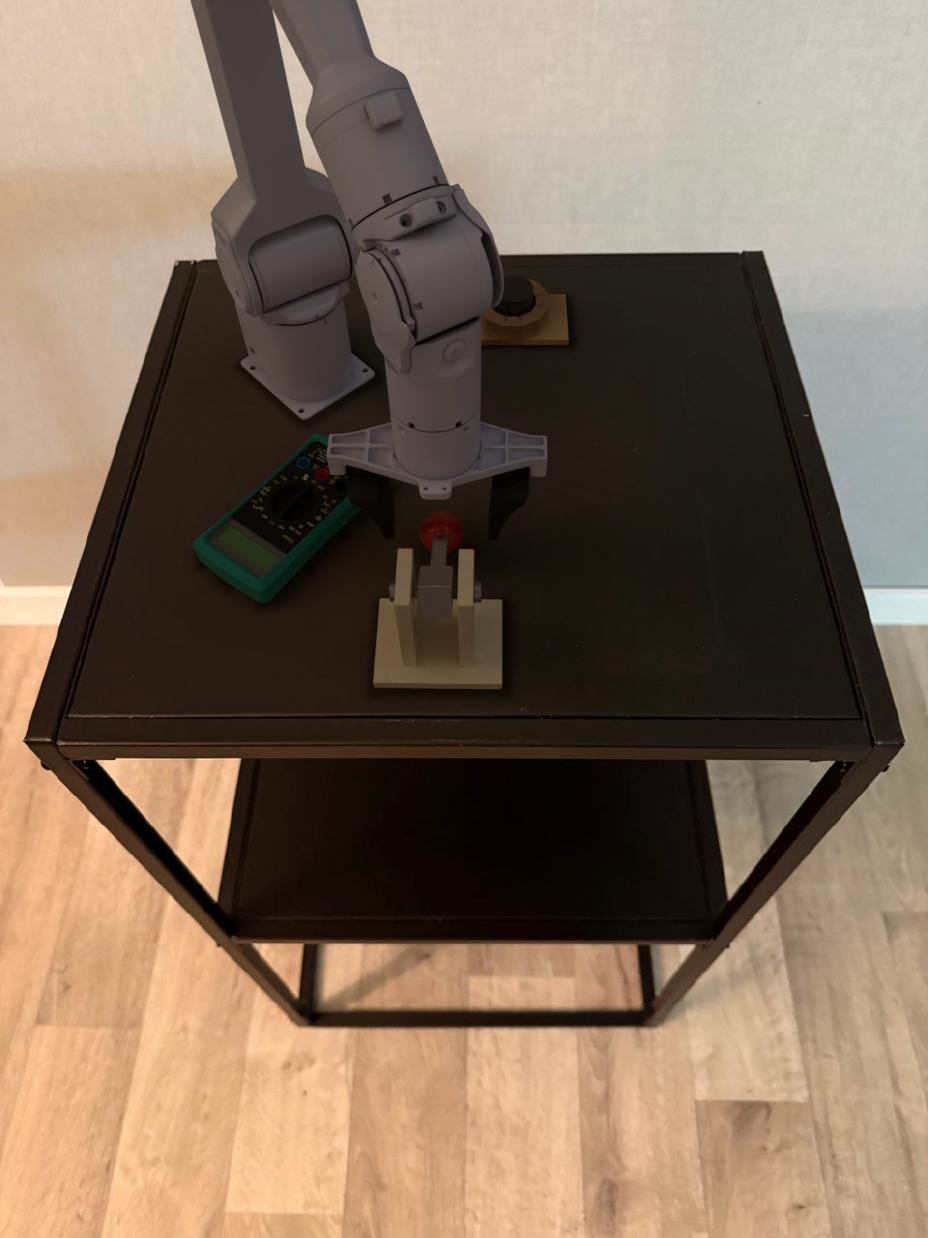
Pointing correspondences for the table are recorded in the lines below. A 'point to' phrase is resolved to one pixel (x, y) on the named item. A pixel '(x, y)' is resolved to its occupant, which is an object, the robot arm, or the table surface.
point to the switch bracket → (438, 635)
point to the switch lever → (438, 564)
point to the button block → (529, 322)
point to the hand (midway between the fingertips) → (441, 529)
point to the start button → (516, 296)
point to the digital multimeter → (279, 524)
